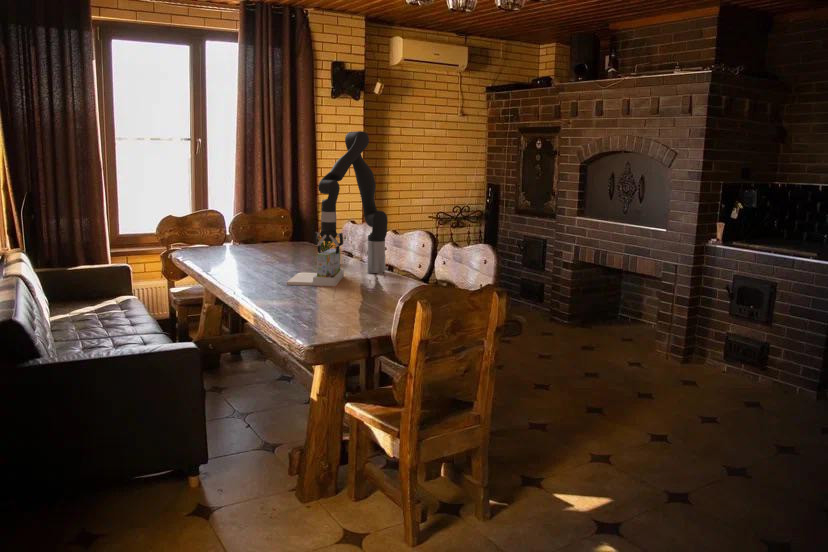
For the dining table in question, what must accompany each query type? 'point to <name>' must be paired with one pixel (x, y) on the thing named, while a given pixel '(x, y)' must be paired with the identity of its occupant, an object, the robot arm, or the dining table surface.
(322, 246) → the house plant
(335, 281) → the bin
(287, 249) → the dining table surface
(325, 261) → the snack box
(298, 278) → the board
